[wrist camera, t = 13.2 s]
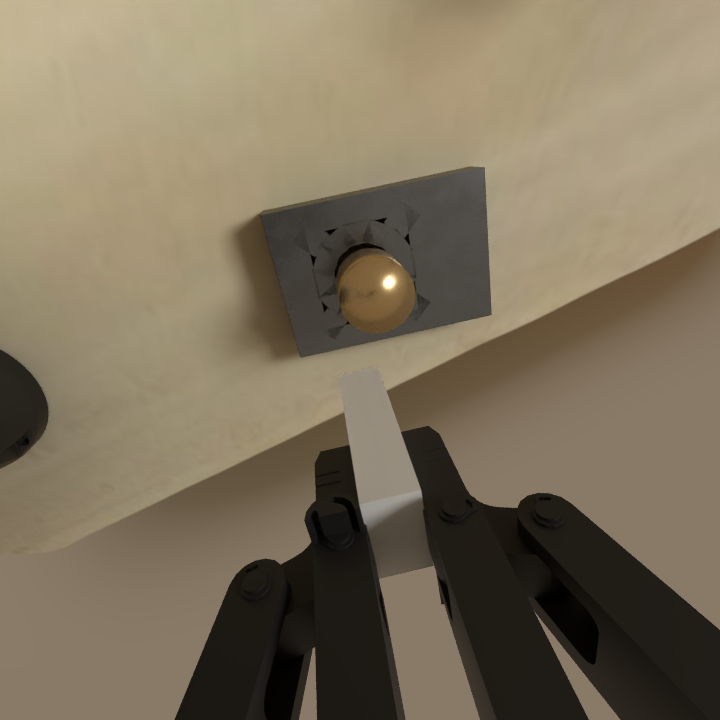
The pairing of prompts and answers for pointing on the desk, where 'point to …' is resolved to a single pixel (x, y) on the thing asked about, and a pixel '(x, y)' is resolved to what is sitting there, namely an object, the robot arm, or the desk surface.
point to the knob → (374, 290)
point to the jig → (397, 237)
